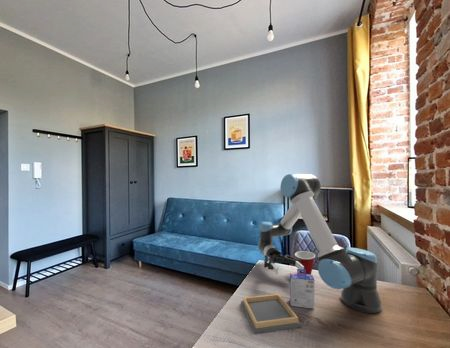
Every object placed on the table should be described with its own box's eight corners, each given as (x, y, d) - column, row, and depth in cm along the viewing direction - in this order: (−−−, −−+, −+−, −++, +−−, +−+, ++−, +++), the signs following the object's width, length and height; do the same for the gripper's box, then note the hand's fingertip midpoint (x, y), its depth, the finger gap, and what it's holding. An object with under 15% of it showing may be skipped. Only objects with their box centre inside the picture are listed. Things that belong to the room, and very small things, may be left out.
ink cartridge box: (312, 301, 97) (312, 269, 97) (315, 309, 92) (315, 274, 92) (289, 299, 99) (289, 267, 99) (290, 306, 94) (290, 272, 94)
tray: (279, 299, 99) (279, 292, 99) (301, 326, 81) (301, 318, 81) (240, 303, 95) (240, 296, 95) (254, 333, 77) (254, 325, 77)
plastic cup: (290, 272, 126) (290, 251, 126) (306, 270, 129) (306, 249, 129) (302, 281, 115) (302, 258, 115) (319, 278, 118) (319, 256, 118)
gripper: (292, 258, 129) (313, 276, 108) (251, 261, 124) (265, 280, 103) (292, 246, 128) (313, 260, 108) (251, 248, 124) (265, 264, 103)
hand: (290, 270), depth 105 cm, fingers open, 13 cm apart
